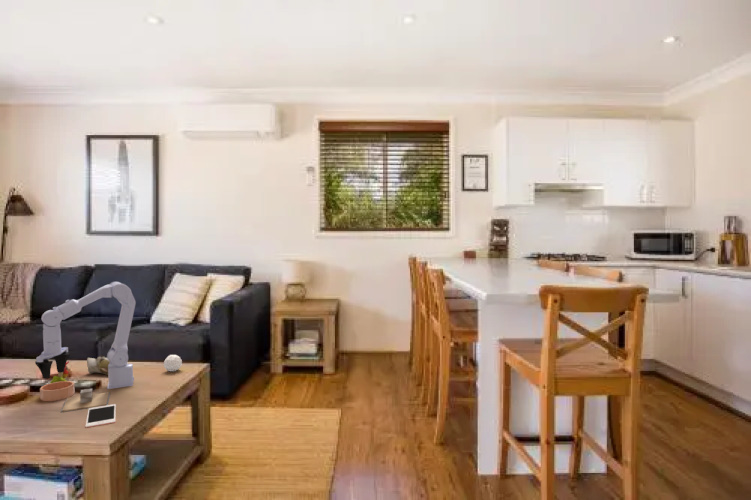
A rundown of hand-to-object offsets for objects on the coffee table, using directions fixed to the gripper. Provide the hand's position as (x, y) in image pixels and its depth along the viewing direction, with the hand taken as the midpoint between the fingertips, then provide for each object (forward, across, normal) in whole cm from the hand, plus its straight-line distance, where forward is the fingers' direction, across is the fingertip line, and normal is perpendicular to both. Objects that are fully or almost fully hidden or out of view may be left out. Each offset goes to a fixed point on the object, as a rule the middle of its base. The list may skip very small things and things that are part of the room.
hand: (53, 375), depth 183 cm
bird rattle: (+10, -17, -10) cm, 22 cm away
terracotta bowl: (+9, -2, 0) cm, 10 cm away
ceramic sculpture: (+10, -32, -1) cm, 34 cm away
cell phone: (+10, +15, +29) cm, 34 cm away
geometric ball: (+10, -37, +30) cm, 48 cm away
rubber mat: (+9, +4, +16) cm, 19 cm away
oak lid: (+9, +4, +16) cm, 19 cm away
